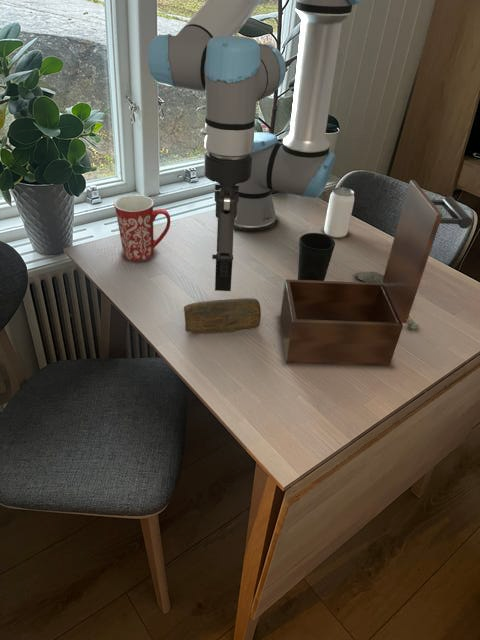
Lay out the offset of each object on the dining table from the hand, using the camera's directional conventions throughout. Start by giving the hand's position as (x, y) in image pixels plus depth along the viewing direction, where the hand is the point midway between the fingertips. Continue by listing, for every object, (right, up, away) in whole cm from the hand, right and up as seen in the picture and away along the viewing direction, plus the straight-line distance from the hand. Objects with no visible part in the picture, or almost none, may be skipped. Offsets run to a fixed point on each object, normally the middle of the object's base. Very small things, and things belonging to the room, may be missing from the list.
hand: (223, 269), depth 87 cm
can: (+29, +15, +45) cm, 56 cm away
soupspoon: (+36, -5, +20) cm, 41 cm away
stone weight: (-1, -11, +9) cm, 14 cm away
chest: (+21, -13, +7) cm, 26 cm away
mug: (-20, +7, +30) cm, 37 cm away
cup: (+19, -2, +22) cm, 29 cm away
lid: (+32, +2, -5) cm, 32 cm away
